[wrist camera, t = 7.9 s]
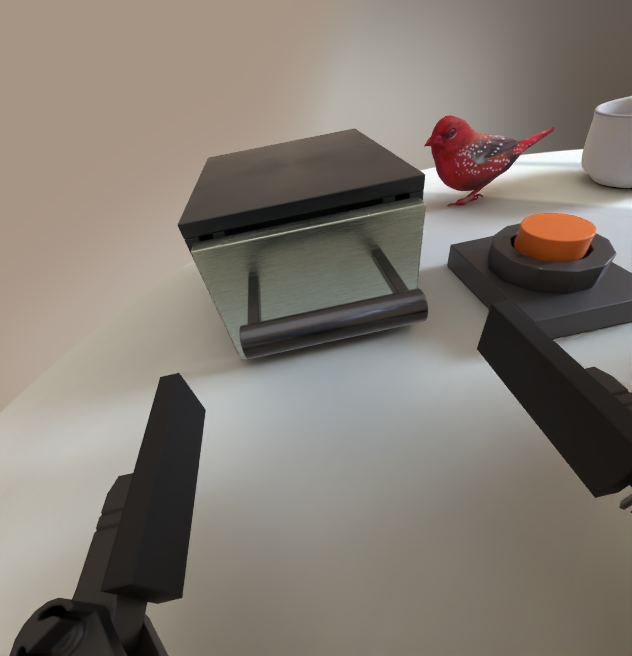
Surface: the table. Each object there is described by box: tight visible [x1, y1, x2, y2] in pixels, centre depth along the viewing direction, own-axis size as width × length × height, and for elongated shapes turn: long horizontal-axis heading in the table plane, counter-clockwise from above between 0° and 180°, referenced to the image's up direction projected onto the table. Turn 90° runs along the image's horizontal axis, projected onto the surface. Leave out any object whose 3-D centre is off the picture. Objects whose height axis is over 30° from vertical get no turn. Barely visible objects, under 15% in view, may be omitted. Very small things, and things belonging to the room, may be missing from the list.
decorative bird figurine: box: [425, 116, 556, 206], centre depth 35 cm, size 3×18×10 cm, turn 108°
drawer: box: [191, 196, 428, 360], centre depth 22 cm, size 21×13×9 cm, turn 9°
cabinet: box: [178, 129, 425, 353], centre depth 26 cm, size 16×14×11 cm
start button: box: [514, 213, 596, 262], centre depth 22 cm, size 4×4×2 cm
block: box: [447, 224, 632, 339], centre depth 24 cm, size 11×9×4 cm
